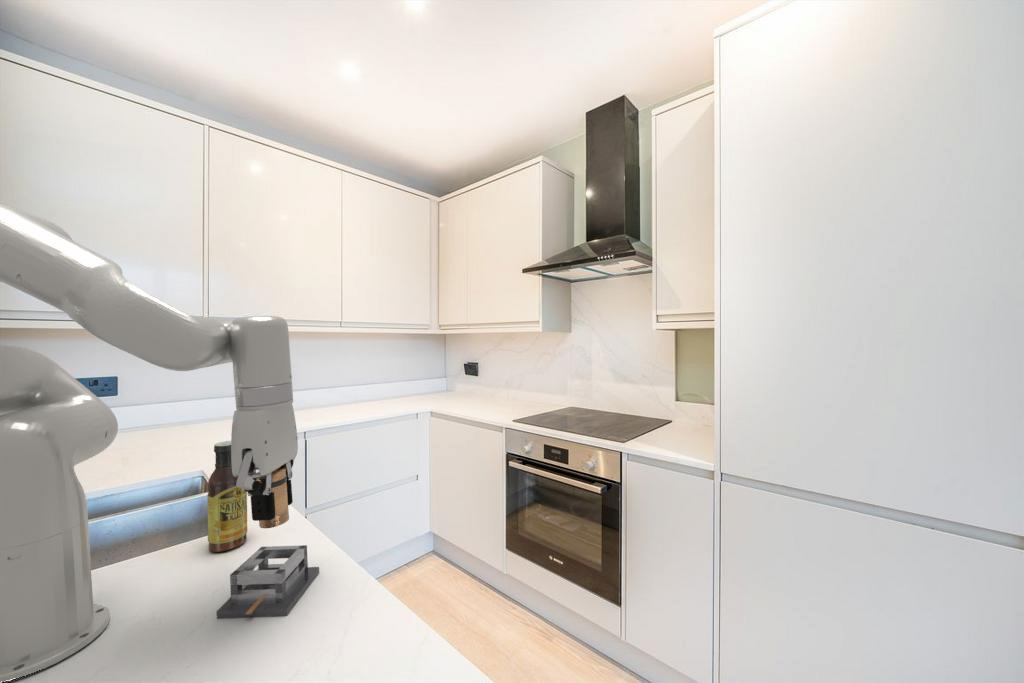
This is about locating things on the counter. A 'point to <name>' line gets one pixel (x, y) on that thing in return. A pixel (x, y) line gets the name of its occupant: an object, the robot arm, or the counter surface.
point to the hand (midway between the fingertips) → (273, 510)
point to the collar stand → (269, 583)
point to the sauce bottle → (225, 504)
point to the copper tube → (278, 498)
